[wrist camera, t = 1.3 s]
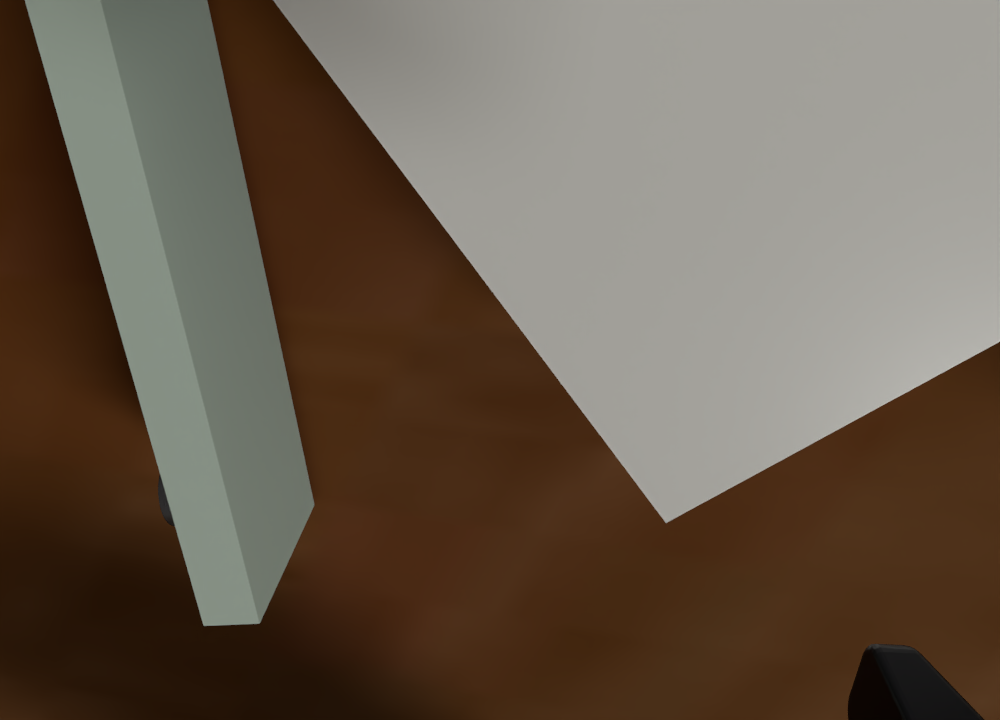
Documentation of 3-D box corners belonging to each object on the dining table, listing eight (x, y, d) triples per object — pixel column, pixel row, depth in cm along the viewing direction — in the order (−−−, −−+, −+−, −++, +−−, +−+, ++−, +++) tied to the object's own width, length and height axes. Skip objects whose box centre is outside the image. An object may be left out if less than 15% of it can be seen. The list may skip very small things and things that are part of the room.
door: (230, 509, 23) (157, 627, 19) (41, -228, 17) (-129, -293, 13) (314, 504, 23) (259, 624, 19) (155, -244, 16) (20, -316, 12)
